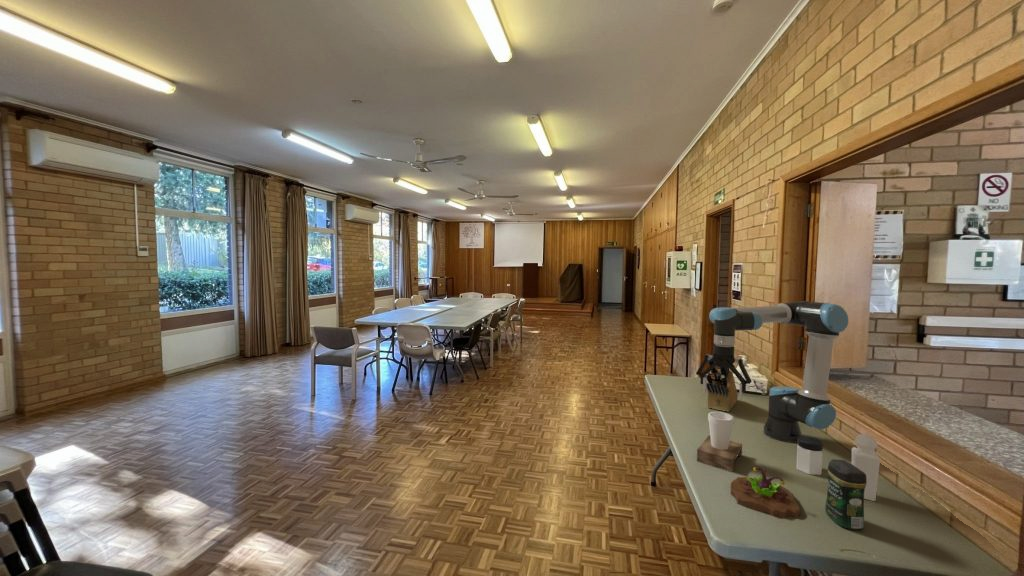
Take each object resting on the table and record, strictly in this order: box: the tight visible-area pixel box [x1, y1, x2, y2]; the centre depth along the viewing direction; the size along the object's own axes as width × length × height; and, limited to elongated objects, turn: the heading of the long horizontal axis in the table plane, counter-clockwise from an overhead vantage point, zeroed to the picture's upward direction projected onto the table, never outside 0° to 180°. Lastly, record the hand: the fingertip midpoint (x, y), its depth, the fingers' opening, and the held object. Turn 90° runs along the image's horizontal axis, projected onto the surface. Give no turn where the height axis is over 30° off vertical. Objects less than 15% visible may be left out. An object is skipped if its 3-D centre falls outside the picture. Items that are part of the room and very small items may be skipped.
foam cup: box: [707, 411, 735, 450], centre depth 165 cm, size 10×9×13 cm
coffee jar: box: [824, 459, 867, 531], centre depth 124 cm, size 10×8×19 cm
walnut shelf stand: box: [696, 434, 743, 472], centre depth 165 cm, size 13×18×5 cm
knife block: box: [705, 358, 739, 413], centre depth 225 cm, size 11×35×31 cm, turn 140°
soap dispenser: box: [851, 433, 881, 502], centre depth 138 cm, size 6×6×22 cm
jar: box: [795, 435, 824, 476], centre depth 156 cm, size 9×8×12 cm
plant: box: [730, 466, 801, 519], centre depth 137 cm, size 20×20×11 cm
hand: (722, 395), depth 164 cm, fingers open, 13 cm apart
